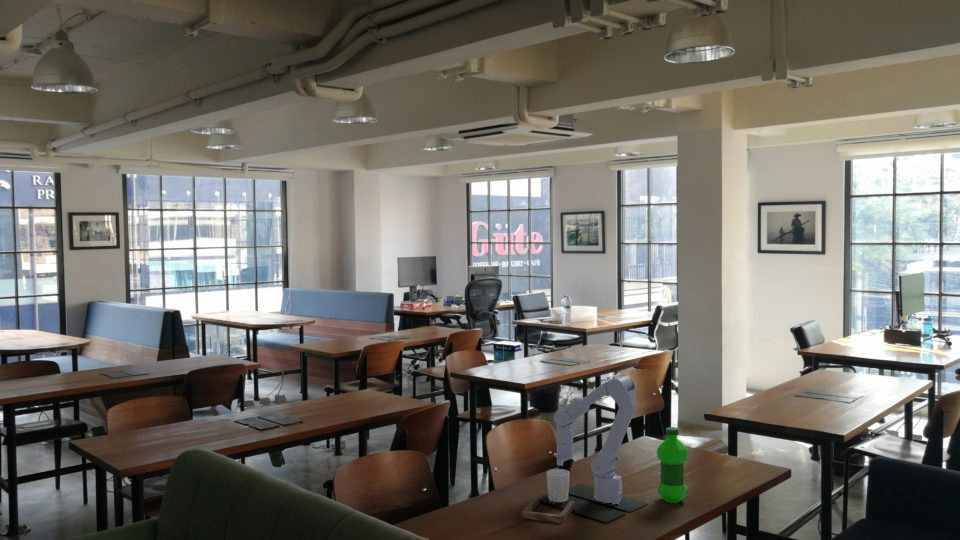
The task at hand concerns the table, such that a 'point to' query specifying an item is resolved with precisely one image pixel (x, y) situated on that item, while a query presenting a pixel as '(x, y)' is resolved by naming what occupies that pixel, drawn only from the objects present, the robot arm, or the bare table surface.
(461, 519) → the table surface
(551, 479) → the white cup
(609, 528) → the table surface
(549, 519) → the walnut bay
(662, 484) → the plastic bottle
